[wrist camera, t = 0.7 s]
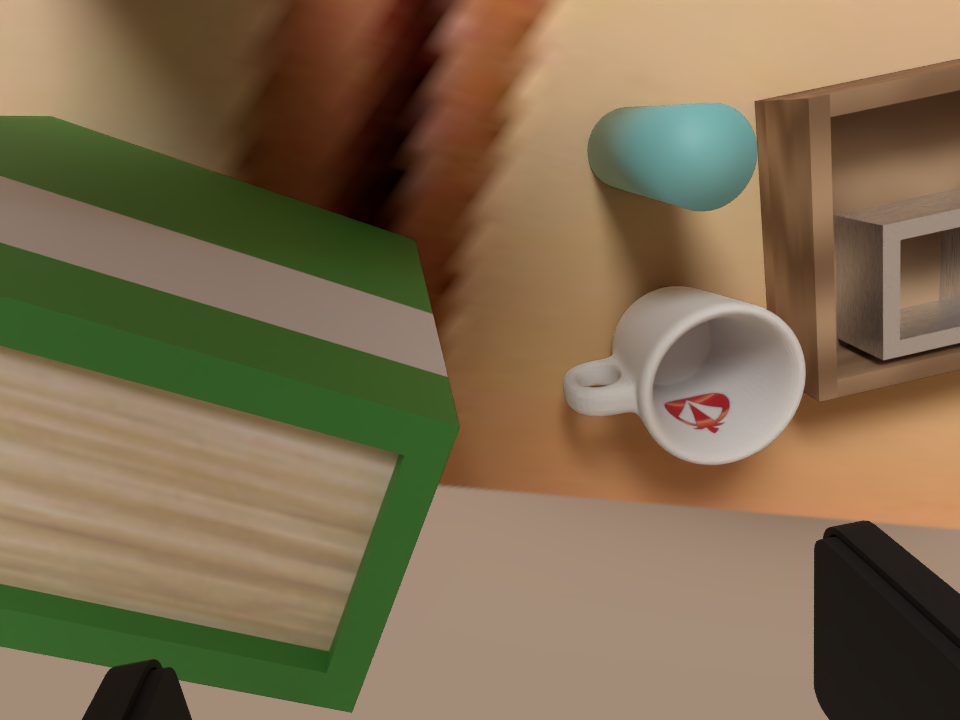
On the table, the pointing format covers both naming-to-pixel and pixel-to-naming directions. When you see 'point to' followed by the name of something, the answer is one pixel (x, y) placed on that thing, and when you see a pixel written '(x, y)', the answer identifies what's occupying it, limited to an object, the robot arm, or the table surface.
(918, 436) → the table surface
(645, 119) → the plug
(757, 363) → the cup
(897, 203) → the socket
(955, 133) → the box
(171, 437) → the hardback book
